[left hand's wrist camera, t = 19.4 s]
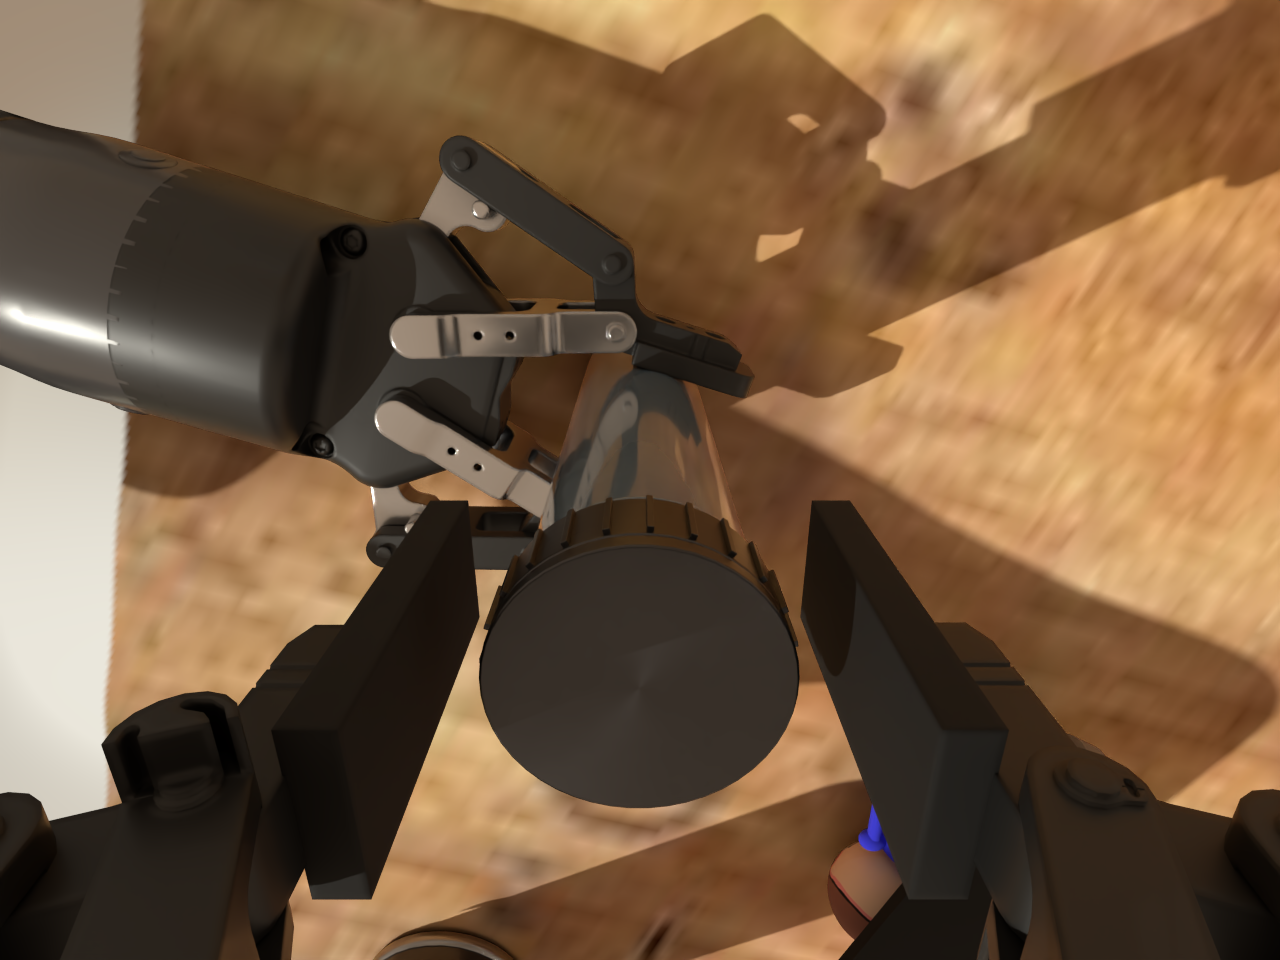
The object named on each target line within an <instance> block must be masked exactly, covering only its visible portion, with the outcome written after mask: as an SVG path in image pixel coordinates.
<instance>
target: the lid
mask: <svg viewBox="0 0 1280 960" xmlns="http://www.w3.org/2000/svg"><path fill="white" fill-rule="evenodd" d="M787 612H789V611H788V608H787V605H786V602H785V600H784V597H783V594H782V591H781V589H780V586H779V583H778V580H777V578H776V575H775V573H774V570H771V571H768V569H767V568H766V566H765V564H764V563H763V561H762V559H761V558H760V555H759V552H758V549H757V546H756V544H755V543H754V542H753V541H752V542H750V543H748V542H747V541H746V540H745V539H744V538H743V537H742V536H741V535H740V534H739V533H737V532H736V531H735V530H733V529H732V528H731V527H730V526H729V522H728V520H726V519H725V518H722V519H721V521H720V520H718V519H717V518H715V517H713V516H711V515H709V514H707V513H705V512H703V511H700V510H697V509H695V508H693V504H692V503H689V502H686V504H685V505H683V504H678V503H674V502H670V501H664V500H656V499H653V495H646V499H623V500H615V501H613V499H612V497H610V498H606V500H605V502H604V503H600V504H596V505H592V506H589V507H586V508H584V509H581V510H578V511H576V512H575V511H574V509H571V510H568V511H567V516H566V517H564V518H562V519H560V520H558V521H556V522H555V523H554V524H552V525H551V526H549V527H548V528H547V529H545V530H544V531H542V530H541V529H538V530H537V531H536V532H535V535H534V538H533V541H532V542H531V543H529V544H528V546H527V547H526V548H525V549H524V551H523V552H522V553H521V554H520V556H519V557H518V556H516V555H514V556H513V558H512V559H511V562H510V565H509V568H508V571H507V574H506V576H505V579H504V582H503V585H502V586H500V585H499V586H498V589H497V592H496V595H495V597H494V600H493V603H492V606H491V608H490V611H489V614H488V617H487V619H486V622H485V625H484V629H486V630H488V633H487V636H486V638H485V641H484V645H483V649H482V653H481V655H480V658H479V663H480V668H479V684H480V693H481V698H482V702H483V706H484V710H485V713H486V715H487V718H488V720H489V722H490V725H491V727H492V729H493V731H494V732H495V734H496V736H497V737H498V739H499V740H500V742H501V744H502V745H503V746H504V747H505V749H506V750H507V751H508V752H509V753H510V755H511V756H512V757H513V758H514V759H515V760H516V761H517V762H518V763H519V764H520V765H521V766H523V767H524V768H525V769H526V770H527V771H528V772H530V773H531V774H533V775H534V776H535V777H537V778H538V779H539V780H541V781H543V782H544V783H546V784H548V785H550V786H551V787H553V788H555V789H557V790H559V791H561V792H564V793H566V794H568V795H571V796H573V797H576V798H579V799H582V800H586V801H589V802H592V803H597V804H602V805H607V806H614V807H624V808H655V807H665V806H671V805H676V804H681V803H686V802H690V801H693V800H696V799H699V798H702V797H705V796H708V795H710V794H712V793H715V792H717V791H719V790H722V789H723V788H725V787H727V786H729V785H731V784H732V783H734V782H736V781H738V780H739V779H740V778H742V777H743V776H744V775H746V774H747V773H749V772H750V771H751V770H753V769H754V768H755V767H756V766H757V765H758V764H759V763H760V762H761V761H762V760H763V759H764V758H765V757H766V756H767V755H768V754H769V753H770V751H771V750H772V749H773V748H774V747H775V745H776V744H777V743H778V741H779V740H780V738H781V736H782V735H783V733H784V731H785V730H786V728H787V726H788V723H789V721H790V719H791V716H792V714H793V711H794V708H795V704H796V700H797V696H798V688H799V660H798V656H797V651H796V647H798V641H797V638H796V635H795V632H794V629H793V627H792V624H791V621H790V618H789V615H788V613H787Z"/></svg>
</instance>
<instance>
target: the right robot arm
mask: <svg viewBox="0 0 1280 960" xmlns="http://www.w3.org/2000/svg"><path fill="white" fill-rule="evenodd" d="M439 161H440V166H441V169H442V171H443V174H442V176H441V178H440V180H439V182H438V184H437V186H436V187H435V189H434V191H433V193H432V195H431V197H430V199H429V201H428V203H427V205H426V207H425V209H424V211H423V213H422V215H421V216H420V218H413V219H402V220H399V221H395V222H383V221H377V220H373V219H370V218H367V217H364V216H361V215H357V214H354V213H351V212H348V211H345V210H342V209H339V208H336V207H332V206H329V205H326V204H323V203H320V202H317V201H314V200H310V199H307V198H304V197H301V196H298V195H295V194H292V193H289V192H285V191H282V190H279V189H276V188H273V187H270V186H267V185H264V184H260V183H257V182H254V181H251V180H248V179H245V178H242V177H238V176H235V175H232V174H229V173H226V172H223V171H220V170H217V169H213V168H210V167H207V166H204V165H201V164H198V163H194V162H191V161H188V160H185V159H182V158H179V157H176V156H173V155H169V154H166V153H163V152H160V151H157V150H154V149H151V148H148V147H144V146H141V145H138V144H135V143H132V142H128V141H124V140H121V139H117V138H113V137H108V136H103V135H99V134H93V133H87V132H81V131H75V130H69V129H65V128H60V127H55V126H51V125H47V124H43V123H40V122H36V121H34V120H30V119H27V118H24V117H21V116H18V115H15V114H11V113H8V112H5V111H2V110H0V365H2V366H5V367H7V368H10V369H12V370H15V371H17V372H19V373H22V374H24V375H26V376H28V377H31V378H33V379H35V380H38V381H40V382H43V383H45V384H48V385H51V386H53V387H56V388H59V389H62V390H65V391H69V392H72V393H75V394H79V395H82V396H86V397H89V398H93V399H96V400H100V401H104V402H107V403H110V404H112V405H113V406H115V407H116V408H118V409H121V410H124V411H127V412H131V413H137V414H144V415H153V416H157V417H161V418H164V419H168V420H171V421H175V422H179V423H182V424H186V425H189V426H193V427H196V428H200V429H203V430H207V431H210V432H214V433H218V434H221V435H225V436H228V437H232V438H235V439H239V440H243V441H246V442H250V443H253V444H257V445H261V446H264V447H268V448H271V449H275V450H278V451H282V452H286V453H290V454H296V455H303V456H310V457H317V458H322V459H326V460H329V461H331V462H333V463H335V464H337V465H339V466H340V467H342V468H343V469H345V470H346V471H347V472H349V473H350V474H351V475H352V476H353V477H354V478H356V479H357V480H358V481H360V482H361V483H363V484H365V485H367V486H370V487H371V494H372V501H373V509H374V516H375V524H376V531H375V534H374V535H373V537H372V538H371V539H370V541H369V542H368V544H367V547H366V552H367V556H368V557H369V559H370V560H371V561H372V562H373V563H374V564H375V565H377V566H380V567H383V568H384V566H385V565H386V564H387V562H388V561H389V559H390V558H391V556H392V555H393V554H394V552H395V551H396V549H397V548H398V546H399V545H400V543H401V542H402V541H403V539H404V538H405V536H406V535H407V533H408V532H409V530H410V529H411V528H412V526H413V525H414V523H415V522H416V520H417V519H418V518H419V516H420V515H421V513H422V512H423V510H424V509H425V507H426V506H427V505H428V503H429V502H430V501H440V500H439V499H438V498H437V497H436V496H435V495H431V494H428V493H422V492H419V491H417V490H415V489H414V488H413V487H412V486H411V485H410V484H409V482H411V481H414V480H417V479H420V478H423V477H426V476H429V475H432V474H436V473H439V472H442V471H445V470H448V471H450V472H451V473H453V474H455V475H456V476H458V477H460V478H461V479H463V480H465V481H466V482H468V483H470V484H471V485H473V486H474V487H476V488H478V489H479V490H481V491H483V492H484V493H486V494H488V495H489V496H491V497H493V498H496V499H499V500H504V499H508V500H510V501H512V502H514V503H516V504H517V505H519V506H521V507H482V506H469V516H470V526H471V536H472V546H473V556H474V566H475V569H486V570H508V568H509V565H510V562H511V559H512V558H513V556H514V555H516V556H518V557H519V556H520V554H521V553H522V552H523V551H524V549H525V548H526V547H527V546H528V544H529V543H531V542H532V541H533V538H534V535H535V532H536V530H537V527H538V524H539V520H540V517H541V514H542V511H543V507H544V504H545V501H546V498H547V495H548V491H549V488H550V485H551V482H552V478H553V475H554V472H555V469H556V466H557V462H558V459H559V458H558V457H557V456H555V455H553V454H552V453H550V452H549V451H547V450H546V449H544V448H542V447H541V446H540V445H539V444H538V443H537V442H536V440H535V438H534V437H533V436H532V435H531V434H529V433H528V432H527V431H525V430H523V429H522V428H520V427H519V426H517V425H516V424H514V423H512V422H511V421H509V420H508V417H509V413H510V409H511V381H512V379H513V377H514V375H515V374H516V372H517V370H518V368H519V367H520V365H521V363H522V362H523V358H524V357H546V356H552V355H556V354H562V353H626V354H629V355H632V364H631V365H635V366H638V367H641V368H644V369H648V370H651V371H654V372H658V373H662V374H665V375H667V376H670V377H674V378H677V379H680V380H683V381H687V382H690V383H693V384H696V385H700V386H703V387H706V388H709V389H713V390H716V391H719V392H722V393H726V394H729V395H732V396H735V397H740V398H746V397H747V395H748V392H749V389H750V387H751V384H752V381H753V379H754V374H753V373H752V371H751V370H750V368H749V367H748V366H747V365H745V364H744V363H741V362H740V359H741V356H742V354H741V353H740V351H739V350H738V348H737V347H736V345H734V344H733V343H732V342H731V341H730V340H729V339H727V338H726V337H725V336H724V335H722V334H718V333H715V332H712V331H709V330H705V329H703V328H700V327H696V326H693V325H690V324H687V323H684V322H681V321H678V320H674V319H671V318H668V317H665V316H662V315H659V314H656V313H653V312H650V311H648V310H647V309H646V308H644V307H643V306H642V304H641V303H640V302H639V300H638V298H637V294H636V286H635V265H634V252H633V249H632V247H631V245H630V244H629V243H628V242H627V241H625V240H624V239H623V238H621V237H620V236H618V235H617V234H615V233H614V232H613V231H611V230H610V229H608V228H607V227H605V226H604V225H603V224H601V223H600V222H598V221H597V220H595V219H594V218H593V217H591V216H590V215H588V214H587V213H586V212H584V211H583V210H581V209H580V208H578V207H577V206H576V205H574V204H573V203H571V202H570V201H568V200H567V199H566V198H564V197H563V196H561V195H560V194H558V193H557V192H556V191H554V190H553V189H551V188H550V187H548V186H547V185H546V184H544V183H543V182H541V181H540V180H538V179H537V178H536V177H534V176H533V175H531V174H530V173H528V172H527V171H526V170H524V169H523V168H521V167H520V166H518V165H517V164H516V163H514V162H513V161H511V160H510V159H509V158H507V157H506V156H504V155H503V154H501V153H500V152H499V151H497V150H496V149H494V148H493V147H491V146H490V145H488V144H486V143H483V142H480V141H477V140H475V139H472V138H469V137H466V136H454V137H451V138H449V139H448V140H447V141H446V142H445V143H444V144H443V146H442V148H441V150H440V155H439ZM510 221H511V222H512V223H514V224H515V225H517V226H518V227H520V228H521V229H523V230H524V231H525V232H527V233H528V234H530V235H531V236H533V237H534V238H536V239H537V240H539V241H540V242H542V243H543V244H545V245H546V246H548V247H549V248H550V249H552V250H553V251H555V252H556V253H558V254H559V255H561V256H562V257H564V258H565V259H567V260H568V261H570V262H571V263H572V264H574V265H575V266H577V267H578V268H580V269H581V270H583V271H584V272H586V273H587V274H589V275H590V276H592V277H593V287H594V300H563V299H557V298H505V297H504V295H503V294H502V293H501V292H500V290H499V289H498V288H497V287H496V285H495V284H494V283H493V282H492V280H491V279H490V278H489V277H488V275H487V274H486V273H485V272H484V270H483V269H482V268H481V267H480V265H479V264H478V263H477V262H476V260H475V259H474V258H473V256H472V255H471V254H470V253H469V251H468V250H467V249H466V248H465V246H464V245H463V244H462V243H461V241H460V240H459V239H458V238H457V236H456V234H457V232H458V231H459V230H460V229H461V228H463V227H465V226H470V227H474V228H476V229H478V230H480V231H483V232H492V231H496V230H500V229H502V228H504V227H505V226H507V225H508V223H509V222H510ZM479 464H480V465H479ZM374 960H514V959H513V958H512V957H511V956H509V955H508V954H507V953H506V952H505V951H503V950H502V949H500V948H499V947H497V946H495V945H494V944H492V943H490V942H488V941H485V940H483V939H480V938H477V937H474V936H471V935H467V934H462V933H456V932H445V931H433V932H423V933H417V934H413V935H409V936H406V937H403V938H401V939H398V940H396V941H394V942H392V943H390V944H389V945H387V946H386V947H385V948H383V949H382V950H381V951H380V952H379V953H378V954H377V955H376V957H375V958H374Z"/></svg>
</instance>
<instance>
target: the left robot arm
mask: <svg viewBox="0 0 1280 960" xmlns="http://www.w3.org/2000/svg"><path fill="white" fill-rule="evenodd" d="M478 620H479V607H478V597H477V586H476V576H475V566H474V556H473V546H472V536H471V526H470V516H469V505H468V501H430V502H429V503H428V505H427V506H426V507H425V509H424V510H423V512H422V513H421V515H420V516H419V518H418V519H417V520H416V522H415V523H414V525H413V526H412V528H411V529H410V530H409V532H408V533H407V535H406V536H405V538H404V539H403V541H402V542H401V543H400V545H399V546H398V548H397V549H396V551H395V552H394V554H393V555H392V556H391V558H390V559H389V561H388V562H387V564H386V565H385V566H384V568H383V569H382V571H381V572H380V574H379V575H378V577H377V578H376V579H375V581H374V582H373V584H372V585H371V587H370V588H369V590H368V591H367V592H366V594H365V595H364V597H363V598H362V600H361V601H360V603H359V604H358V605H357V607H356V608H355V610H354V611H353V613H352V614H351V615H350V617H349V618H348V620H347V621H346V623H345V624H344V625H314V626H313V627H311V628H310V629H308V630H307V631H305V632H304V633H302V634H301V635H299V636H298V637H296V638H295V639H294V640H292V641H291V642H289V643H288V644H287V645H286V646H285V647H284V649H283V650H282V651H281V652H280V654H279V655H278V656H277V658H276V659H275V660H274V661H273V663H272V664H271V665H270V670H266V671H265V673H264V674H263V675H262V676H261V678H260V679H259V680H258V682H257V683H256V688H252V689H251V690H250V692H249V693H248V694H247V695H246V697H245V698H244V699H243V700H242V702H241V703H240V704H239V706H238V705H237V703H236V702H235V701H234V700H232V699H231V698H230V697H229V696H227V695H226V694H220V693H215V692H209V691H206V692H195V693H185V694H181V695H178V696H174V697H171V698H167V699H164V700H161V701H158V702H156V703H154V704H152V705H150V706H148V707H146V708H144V709H141V710H139V711H137V712H135V713H134V714H132V715H131V716H130V717H128V718H127V719H126V720H124V721H123V722H122V723H120V724H119V725H118V726H116V727H115V728H114V729H113V730H112V731H111V733H110V734H109V735H108V737H107V738H106V739H105V740H104V742H103V743H102V748H103V751H104V754H105V757H106V759H107V762H108V765H109V768H110V770H111V773H112V776H113V779H114V782H115V784H116V787H117V790H118V793H119V796H120V798H121V801H122V803H121V804H118V805H115V806H111V807H107V808H103V809H99V810H94V811H90V812H86V813H82V814H77V815H73V816H68V817H64V818H60V819H56V820H52V821H49V820H48V818H47V815H46V813H45V811H44V808H43V806H42V804H41V802H40V801H39V800H37V799H36V798H35V797H33V796H32V795H30V794H26V793H12V792H7V793H2V794H0V960H291V953H292V942H293V931H294V924H293V918H292V912H291V908H290V904H289V898H290V896H291V894H292V892H293V890H294V888H295V886H296V884H297V882H298V880H299V878H300V876H301V874H302V872H303V870H304V868H305V872H306V876H307V880H308V884H309V888H310V892H311V896H312V899H372V896H373V894H374V891H375V888H376V886H377V883H378V881H379V878H380V875H381V873H382V870H383V868H384V865H385V862H386V860H387V857H388V855H389V852H390V849H391V847H392V844H393V841H394V839H395V836H396V834H397V831H398V828H399V826H400V823H401V821H402V818H403V815H404V813H405V810H406V808H407V805H408V802H409V800H410V797H411V795H412V792H413V789H414V787H415V784H416V781H417V779H418V776H419V774H420V771H421V768H422V766H423V763H424V761H425V758H426V755H427V753H428V750H429V748H430V745H431V742H432V740H433V737H434V735H435V732H436V729H437V727H438V724H439V721H440V719H441V716H442V714H443V711H444V708H445V706H446V703H447V701H448V698H449V695H450V693H451V690H452V688H453V685H454V682H455V680H456V677H457V675H458V672H459V669H460V667H461V664H462V661H463V659H464V656H465V654H466V651H467V648H468V646H469V643H470V641H471V638H472V635H473V633H474V630H475V628H476V625H477V622H478ZM801 620H802V622H803V625H804V628H805V630H806V633H807V635H808V638H809V641H810V643H811V646H812V648H813V651H814V654H815V656H816V659H817V661H818V664H819V667H820V669H821V672H822V675H823V677H824V680H825V682H826V685H827V688H828V690H829V693H830V695H831V698H832V701H833V703H834V706H835V708H836V711H837V714H838V716H839V719H840V721H841V724H842V727H843V729H844V732H845V735H846V737H847V740H848V742H849V745H850V748H851V750H852V753H853V755H854V758H855V761H856V763H857V766H858V768H859V771H860V774H861V776H862V779H863V781H864V784H865V787H866V789H867V792H868V795H869V797H870V800H871V802H872V805H873V808H874V810H875V813H876V815H877V818H878V821H879V823H880V826H881V828H882V831H883V834H884V836H885V839H886V841H887V844H888V847H889V849H890V852H891V855H892V857H893V860H894V862H895V865H896V868H897V870H898V873H899V875H900V878H901V881H902V883H903V886H904V888H905V891H906V894H907V896H908V899H968V896H969V892H970V888H971V884H972V880H973V876H974V872H975V868H976V867H977V869H978V871H979V873H980V875H981V877H982V879H983V881H984V883H985V885H986V887H987V889H988V891H989V893H990V895H991V897H992V900H991V904H990V908H989V912H988V915H987V919H986V923H985V927H984V931H983V934H982V938H981V942H980V946H979V950H978V954H977V960H988V958H989V960H1280V790H1274V789H1270V790H1255V791H1251V792H1250V793H1248V794H1247V795H1245V796H1244V797H1242V798H1241V799H1240V801H1239V803H1238V806H1237V808H1236V811H1235V813H1234V815H1233V818H1229V817H1225V816H1220V815H1216V814H1212V813H1207V812H1203V811H1199V810H1194V809H1190V808H1186V807H1181V806H1177V805H1173V804H1169V803H1166V802H1162V801H1159V800H1157V799H1156V798H1155V796H1154V795H1153V793H1152V792H1151V790H1150V789H1149V787H1148V786H1147V784H1145V783H1144V782H1143V781H1142V780H1141V779H1140V778H1138V777H1137V776H1136V775H1135V774H1134V773H1133V772H1131V771H1130V770H1129V769H1128V768H1126V767H1124V766H1123V765H1121V764H1119V763H1117V762H1115V761H1113V760H1112V759H1110V758H1108V757H1106V756H1104V755H1101V754H1098V753H1095V752H1092V751H1089V750H1086V749H1083V748H1080V747H1077V746H1076V745H1075V744H1074V742H1073V741H1072V740H1071V739H1070V737H1069V736H1068V735H1067V734H1066V732H1065V731H1064V730H1063V729H1062V727H1061V726H1060V725H1059V724H1058V722H1057V721H1056V720H1055V719H1054V717H1053V716H1052V715H1051V714H1050V712H1049V711H1048V710H1047V709H1046V707H1045V706H1044V705H1043V704H1042V702H1041V701H1040V700H1039V698H1038V697H1037V696H1036V695H1035V693H1034V692H1033V691H1032V690H1031V688H1030V687H1029V686H1025V683H1024V680H1023V678H1022V677H1021V676H1020V675H1019V673H1018V672H1017V671H1016V670H1015V668H1014V667H1010V662H1009V661H1008V660H1007V658H1006V657H1005V656H1004V655H1003V653H1002V652H1001V651H1000V650H999V648H998V647H997V646H996V645H995V643H994V642H993V641H992V640H990V639H989V638H987V637H986V636H984V635H983V634H981V633H980V632H978V631H977V630H975V629H974V628H972V627H971V626H970V625H968V624H967V623H934V621H933V620H932V618H931V617H930V615H929V614H928V613H927V611H926V610H925V608H924V607H923V605H922V604H921V603H920V601H919V600H918V598H917V597H916V595H915V594H914V592H913V591H912V590H911V588H910V587H909V585H908V584H907V582H906V581H905V579H904V578H903V577H902V575H901V574H900V572H899V571H898V569H897V568H896V567H895V565H894V564H893V562H892V561H891V559H890V558H889V556H888V555H887V554H886V552H885V551H884V549H883V548H882V546H881V545H880V543H879V542H878V541H877V539H876V538H875V536H874V535H873V533H872V532H871V530H870V529H869V528H868V526H867V525H866V523H865V522H864V520H863V519H862V518H861V516H860V515H859V513H858V512H857V510H856V509H855V507H854V506H853V505H852V503H851V502H850V501H812V505H811V515H810V526H809V536H808V546H807V556H806V566H805V576H804V586H803V596H802V607H801Z"/></svg>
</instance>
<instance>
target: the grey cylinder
mask: <svg viewBox="0 0 1280 960" xmlns="http://www.w3.org/2000/svg"><path fill="white" fill-rule="evenodd" d="M631 364H632V355H629V354H626V353H593V354H592V356H591V358H590V360H589V363H588V366H587V369H586V372H585V375H584V378H583V382H582V385H581V388H580V391H579V395H578V398H577V401H576V404H575V407H574V411H573V414H572V417H571V420H570V424H569V427H568V430H567V433H566V437H565V440H564V443H563V446H562V449H561V453H560V456H559V459H558V462H557V466H556V469H555V472H554V475H553V478H552V482H551V485H550V488H549V491H548V495H547V498H546V501H545V504H544V507H543V511H542V514H541V517H540V520H539V524H538V527H537V530H538V529H541V530H542V531H544V530H545V529H547V528H548V527H549V526H551V525H552V524H554V523H555V522H556V521H558V520H560V519H562V518H564V517H566V516H567V511H568V510H571V509H574V511H575V512H576V511H578V510H581V509H584V508H586V507H589V506H592V505H596V504H600V503H604V502H605V500H606V498H610V497H612V499H613V501H615V500H623V499H646V495H653V499H656V500H664V501H670V502H674V503H678V504H683V505H685V504H686V502H689V503H692V504H693V508H695V509H697V510H700V511H703V512H705V513H707V514H709V515H711V516H713V517H715V518H717V519H718V520H720V521H721V519H722V518H725V519H726V520H728V522H729V526H730V527H731V528H732V529H733V530H735V531H736V532H737V533H739V534H740V535H741V536H742V537H743V538H744V535H743V531H742V528H741V525H740V522H739V519H738V515H737V512H736V509H735V506H734V502H733V499H732V496H731V493H730V489H729V486H728V483H727V480H726V477H725V473H724V470H723V467H722V464H721V460H720V457H719V454H718V451H717V447H716V444H715V441H714V438H713V435H712V431H711V428H710V425H709V422H708V418H707V415H706V412H705V409H704V405H703V402H702V399H701V396H700V393H699V389H698V386H697V385H696V384H693V383H690V382H687V381H683V380H680V379H677V378H674V377H670V376H667V375H665V374H662V373H658V372H654V371H651V370H648V369H644V368H641V367H638V366H635V365H631ZM537 530H536V531H537ZM744 539H745V538H744Z"/></svg>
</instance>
